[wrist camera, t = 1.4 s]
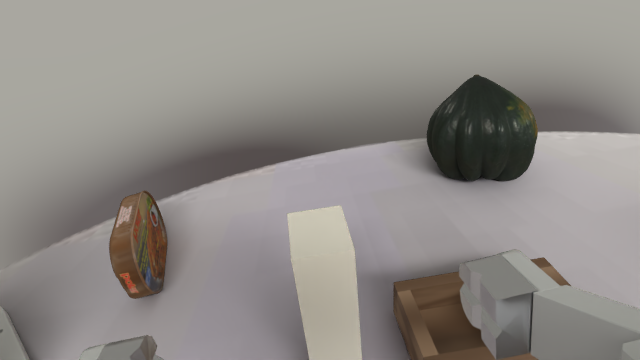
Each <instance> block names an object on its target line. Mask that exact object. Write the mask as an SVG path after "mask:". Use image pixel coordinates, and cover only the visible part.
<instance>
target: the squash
mask: <svg viewBox="0 0 640 360" xmlns="http://www.w3.org/2000/svg"><path fill="white" fill-rule="evenodd" d="M537 134H538V131H537V124H536V120H535V118H534V115H533V113H532V111H531V109H530V107H529V106H528V105H527V104H526V103H524V102H523V101H522V100H521V99H520V98H518V97H517V96H515V95H514V94H513V93H511V92H510V91H508V90H506V89H505V88H503V87H501V86H500V85H498V84H496V83H494V82H493V81H490V80H489V79H487V78H484V77H481V76H479V75H474V76H473V77H472V78H470V79H468V80H467V81H466V82H464V83H463V84H462V85H461V86H460V87H459V88H458V89H457V90H456V91H455V92H454V93H453V94H452V95H450V96H449V97H448V98H447V99H446V100H445V101H444V102H443V103H442V104H441V105H440V106H439V107H438V108H437V110H435V112H434V113H433V115H432V117H431V118H430V121H429V125H428V130H427V144H428V147H429V150H430V153H431V155H432V157H433V158H434V160H435V161H436V162H437V164H438V167H439V168H440V170H441V171H442V172H443V173H444V174H445V175H446V176H448V177H450V178H454V179H463V178H466V179H468V180H471V181H475V180H477V179H478V178H479V177H480V175H482V177H484V178H485V179H495V180H499V181H509V180H513V179H516V178H518V177H520V176H521V175H522V174H523V173H524V172H525V171H526V170H527V169H528V167H529V165H530V163H531V160H532V158H533V155H534V149H535V144H536V140H537Z"/></svg>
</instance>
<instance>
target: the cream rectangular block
mask: <svg viewBox="0 0 640 360" xmlns="http://www.w3.org/2000/svg"><path fill="white" fill-rule="evenodd" d="M287 217H288V229H289V241H290V252H291V262H292V267H293V273H294V278H295V284H296V289H297V295H298V300H299V306H300V311H301V316H302V322H303V327H304V333H305V338H306V344H307V349H308V355H309V360H362V351H361V336H360V321H359V306H358V292H357V277H356V262H355V249H354V246H353V243H352V239H351V236H350V233H349V230H348V226H347V223H346V220H345V217H344V213H343V210H342V207H341V205H340V206H333V207H326V208H320V209H313V210H307V211H300V212H294V213H287Z"/></svg>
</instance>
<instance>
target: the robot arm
mask: <svg viewBox="0 0 640 360" xmlns="http://www.w3.org/2000/svg"><path fill="white" fill-rule="evenodd" d="M459 276H460V278H461V279H462V280H463V282H464V284H463V286H462V287H461V289H460V297H461V303H462V306H463V310H464V312H465V314H466V316H467V318H468V320H469V321H470V323H471V324H472V326H474V327H476V328H478V329H480V330H481V337H482V340H483V342H484V343H485V345H486V346H487V347H488V349H489V350H490V352H491V353H492V355H493V356H494V358H495V359H496V360H498V359H503V358H508V357H512V356H517V355H522V354H526V353H531V355H532V356H534V357H536V358H537V359H539V360H640V309H638V308H635V307H632V306H629V305H626V304H623V303H620V302H617V301H614V300H611V299H608V298H605V297H602V296H599V295H596V294H593V293H590V292H586V291H583V290H580V289H577V288H574V287H571V286H568V285H564V286H560V285H559V284H557V283H556V282H555V281H554V280H553V279H552V278H551V277H549V276H548V275H547V274H546V273H545V272H544V271H542V270H541V269H540V268H539V267H538V266H537V265H536V264H534V263H533V262H532V261H531V260H530V259H529V258H527V257H526V256H525V255H524V254H523V253H522V252H521V251H519V250H516V249H515V250H511V251H507V252H503V253H499V254H497V255H493V256H489V257H485V258H480V259H476V260H472V261H468V262H464V263H460V266H459ZM156 348H157V345H156V343H155V341H154V339H153V337H152V336H149V335H146V336H141V337H136V338H131V339H126V340H121V341H117V342H112V343H108V344H103V345H99V346H94V347H89V348H88V349H86V350H85V351H83V353H82V355H81V356H80V358H79V360H163V359H162V358H160V357H159V356H157V355H155V351H156ZM0 360H30V359H29V357H28V355H27V353H26V351H25V349H24V347H23V345H22V342H21V340H20V338H19V336H18V334H17V332H16V330H15V328H14V326H13V324H12V321H11V319H10V317H9V315H8V313H7V312H6V311H5V310H4V309H3V308H2V307H1V306H0Z"/></svg>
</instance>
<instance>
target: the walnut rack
mask: <svg viewBox="0 0 640 360" xmlns="http://www.w3.org/2000/svg"><path fill="white" fill-rule="evenodd" d="M531 261H532V262H533V263H534V264H536V265H537V266H538V267H539V268H540V269H541V270H542V271H544V272H545V273H546V274H547V275H548V276H549V277H551V278H552V279H553V280H554V281H555V282H556V283H557V284H559V285H560V286H564V285H568V286H571V285H570V284H569V283H568V282H567V281H566V280H565V279H564V278H563V277H562V276H561V275H560V274H559V273H558V272H557V271H556V270H555V268H554V267H553V266H552V265H551V264H550V263H549V262H548V261H547V260H546V259H545V258H538V259H532V260H531ZM463 284H464V282H463V280H462V279H461V278H460V276H459V272H453V273H447V274H441V275H435V276H429V277H423V278H417V279H411V280H405V281H399V282H394V314H395V317H396V319H397V322H398V325H399V328H400V330H401V333H402V336H403V339H404V341H405V344H406V347H407V350H408V352H409V355H410V358H411V360H496V359H495V358H494V356H493V355H492V353H491V352H490V350H489V349H488V347H487V346H486V345H485V343H484V342H483V340H482V337H481V330H480V329H478V328H476V327H474V326H472V324H471V323H470V321H469V320H468V318H467V316H466V314H465V312H464V310H463V306H462V303H461V297H460V289H461V287H462V286H463ZM571 287H572V286H571ZM498 360H539V359H537V358H536V357H534V356H532V355H531V353H526V354H522V355H517V356H512V357H508V358H503V359H498Z"/></svg>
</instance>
